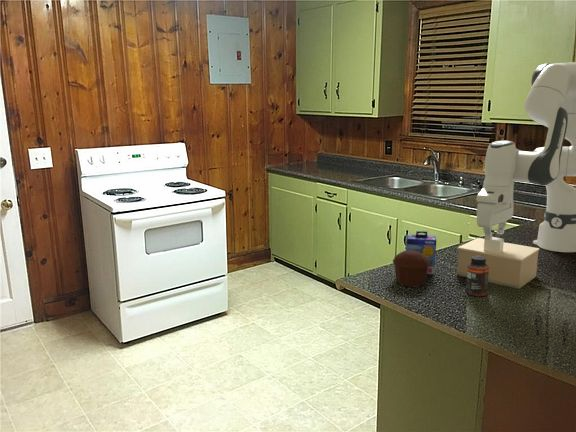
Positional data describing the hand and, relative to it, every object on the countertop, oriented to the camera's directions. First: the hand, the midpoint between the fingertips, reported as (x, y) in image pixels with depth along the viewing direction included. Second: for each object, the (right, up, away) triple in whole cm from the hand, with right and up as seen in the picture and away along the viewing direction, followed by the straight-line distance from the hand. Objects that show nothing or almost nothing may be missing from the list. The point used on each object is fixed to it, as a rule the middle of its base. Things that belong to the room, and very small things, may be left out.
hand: (494, 236), depth 163 cm
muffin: (-26, -15, +2) cm, 30 cm away
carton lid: (+3, -4, +4) cm, 7 cm away
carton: (+3, -13, +6) cm, 15 cm away
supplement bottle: (-9, -17, -9) cm, 21 cm away
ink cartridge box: (-21, -13, +12) cm, 27 cm away
